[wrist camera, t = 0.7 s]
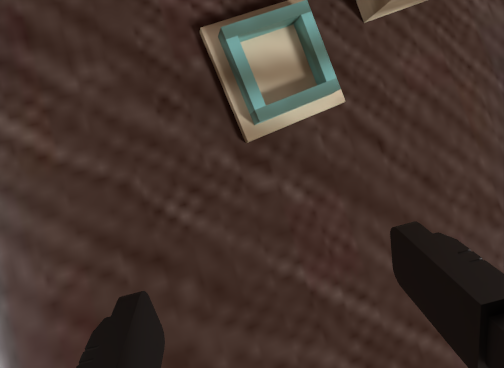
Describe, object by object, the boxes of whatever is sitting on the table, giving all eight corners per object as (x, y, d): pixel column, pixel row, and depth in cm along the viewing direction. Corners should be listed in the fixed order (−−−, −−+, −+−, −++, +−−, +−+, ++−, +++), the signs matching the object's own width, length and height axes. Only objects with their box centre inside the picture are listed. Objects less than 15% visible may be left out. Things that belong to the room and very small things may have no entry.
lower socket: (199, 32, 32) (202, 17, 29) (301, 0, 35) (313, -17, 32) (245, 143, 34) (253, 139, 31) (340, 103, 36) (355, 96, 33)
